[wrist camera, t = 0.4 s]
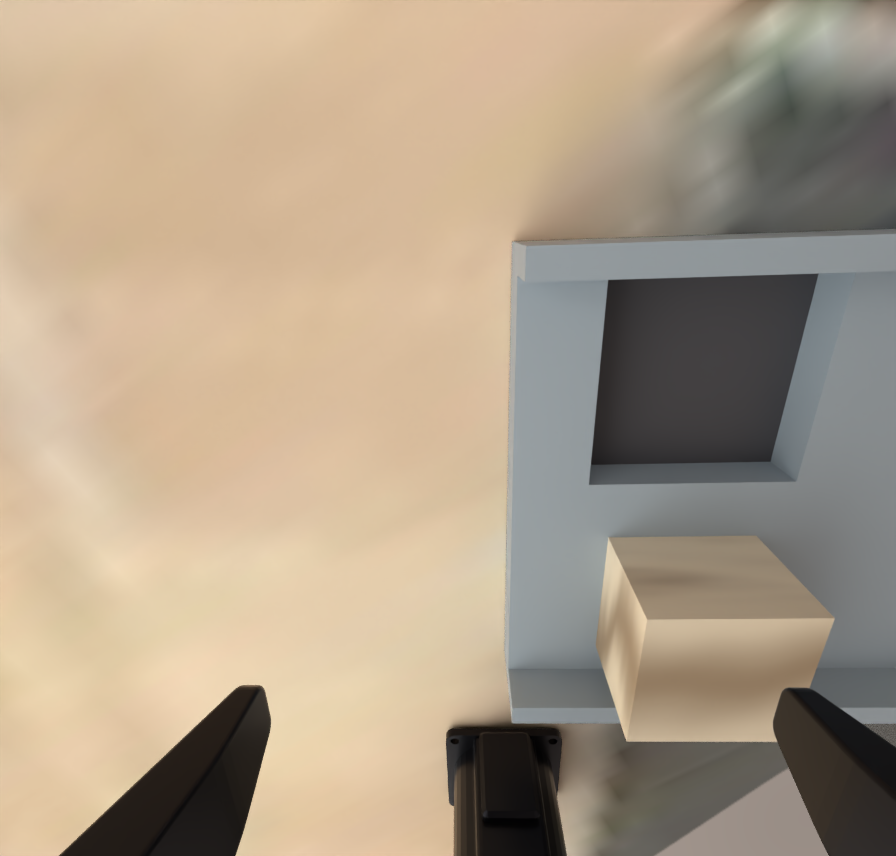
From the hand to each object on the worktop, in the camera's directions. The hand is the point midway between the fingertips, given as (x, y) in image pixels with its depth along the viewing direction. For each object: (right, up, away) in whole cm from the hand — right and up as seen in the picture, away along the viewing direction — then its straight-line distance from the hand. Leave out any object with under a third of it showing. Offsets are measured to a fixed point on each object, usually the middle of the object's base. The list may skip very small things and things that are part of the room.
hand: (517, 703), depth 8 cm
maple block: (+9, -2, +13) cm, 15 cm away
